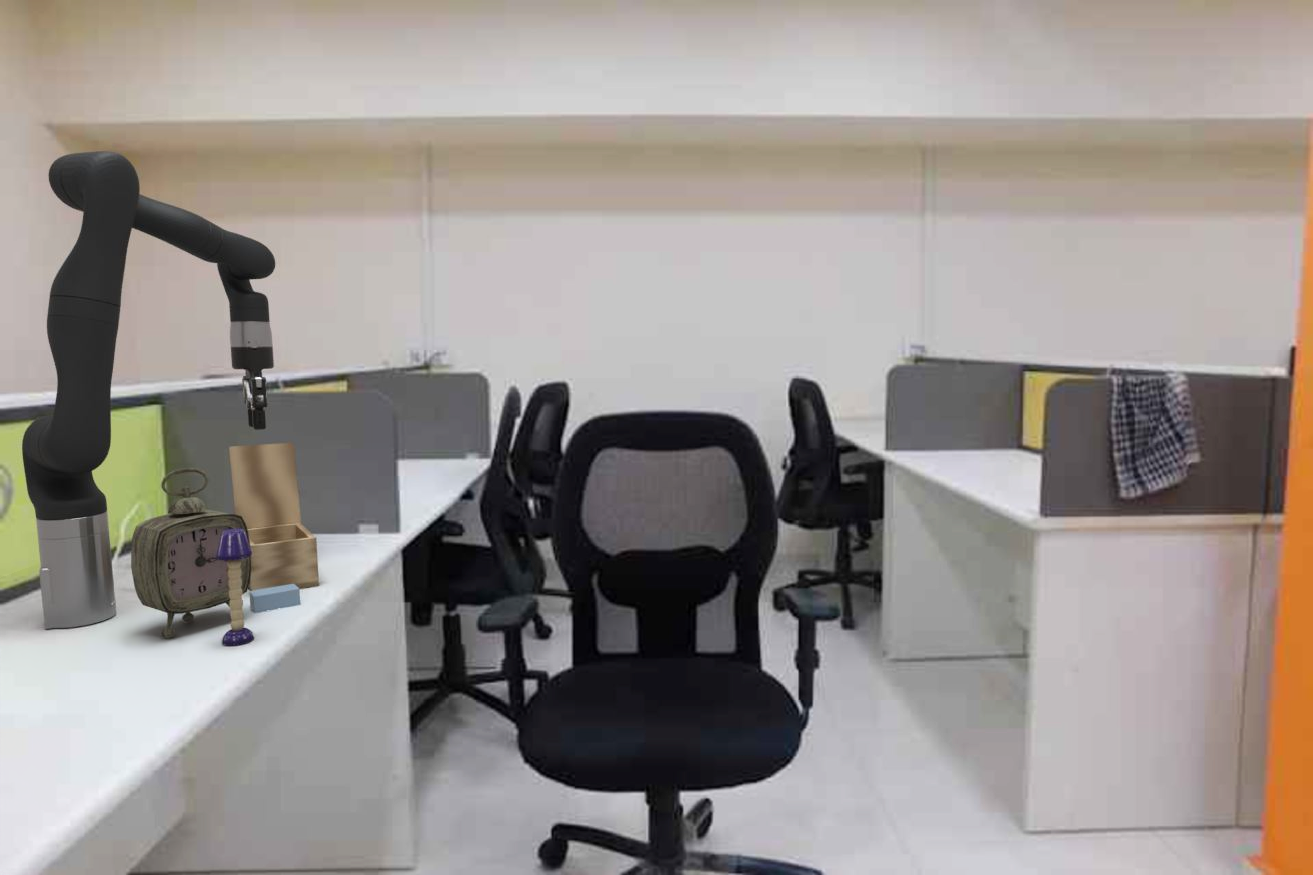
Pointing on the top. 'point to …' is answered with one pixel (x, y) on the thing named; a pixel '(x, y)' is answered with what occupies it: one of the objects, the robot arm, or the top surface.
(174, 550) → the tabletop clock
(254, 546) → the crate
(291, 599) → the light blue block
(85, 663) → the top surface
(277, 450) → the lid
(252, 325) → the robot arm
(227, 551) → the toy lamp
